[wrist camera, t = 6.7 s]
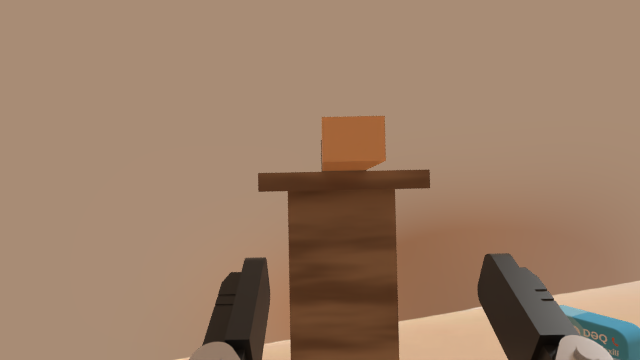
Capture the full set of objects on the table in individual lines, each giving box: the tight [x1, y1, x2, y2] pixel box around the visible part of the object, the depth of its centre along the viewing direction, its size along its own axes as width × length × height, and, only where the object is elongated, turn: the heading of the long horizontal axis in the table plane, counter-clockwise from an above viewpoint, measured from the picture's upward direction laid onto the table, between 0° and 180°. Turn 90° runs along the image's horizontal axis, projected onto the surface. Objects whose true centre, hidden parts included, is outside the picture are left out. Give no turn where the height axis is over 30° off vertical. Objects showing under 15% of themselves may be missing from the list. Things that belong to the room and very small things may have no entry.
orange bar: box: [321, 116, 386, 172], centre depth 33 cm, size 24×4×3 cm, turn 0°
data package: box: [560, 305, 640, 360], centre depth 54 cm, size 12×4×12 cm, turn 26°
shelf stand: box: [258, 170, 430, 360], centre depth 39 cm, size 16×14×32 cm
